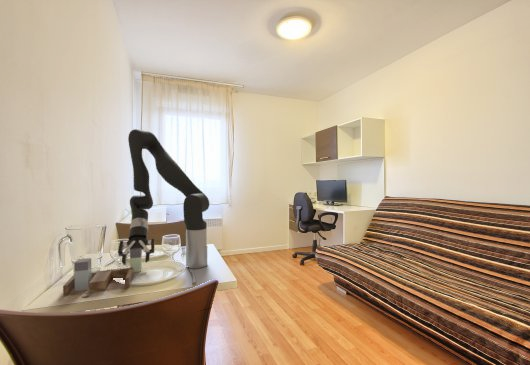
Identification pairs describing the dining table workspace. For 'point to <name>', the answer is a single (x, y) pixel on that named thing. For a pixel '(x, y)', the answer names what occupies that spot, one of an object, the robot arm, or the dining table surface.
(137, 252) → the grey upright block
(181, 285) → the dining table surface
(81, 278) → the block
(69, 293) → the comb rack
